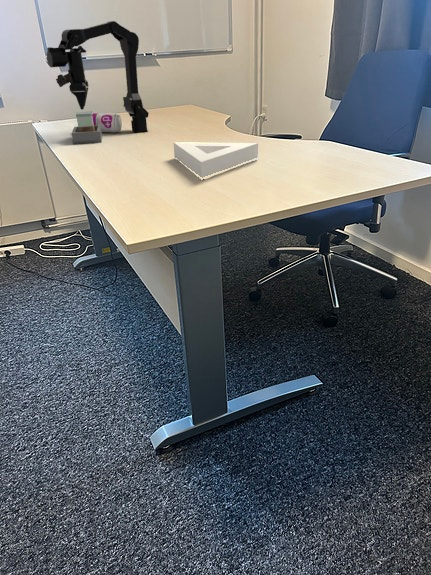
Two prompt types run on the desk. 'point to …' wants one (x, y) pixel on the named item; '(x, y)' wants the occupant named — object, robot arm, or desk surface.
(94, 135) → the tote
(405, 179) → the desk surface
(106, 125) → the supplement can
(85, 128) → the walnut block
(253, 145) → the triangle block
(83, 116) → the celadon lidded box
